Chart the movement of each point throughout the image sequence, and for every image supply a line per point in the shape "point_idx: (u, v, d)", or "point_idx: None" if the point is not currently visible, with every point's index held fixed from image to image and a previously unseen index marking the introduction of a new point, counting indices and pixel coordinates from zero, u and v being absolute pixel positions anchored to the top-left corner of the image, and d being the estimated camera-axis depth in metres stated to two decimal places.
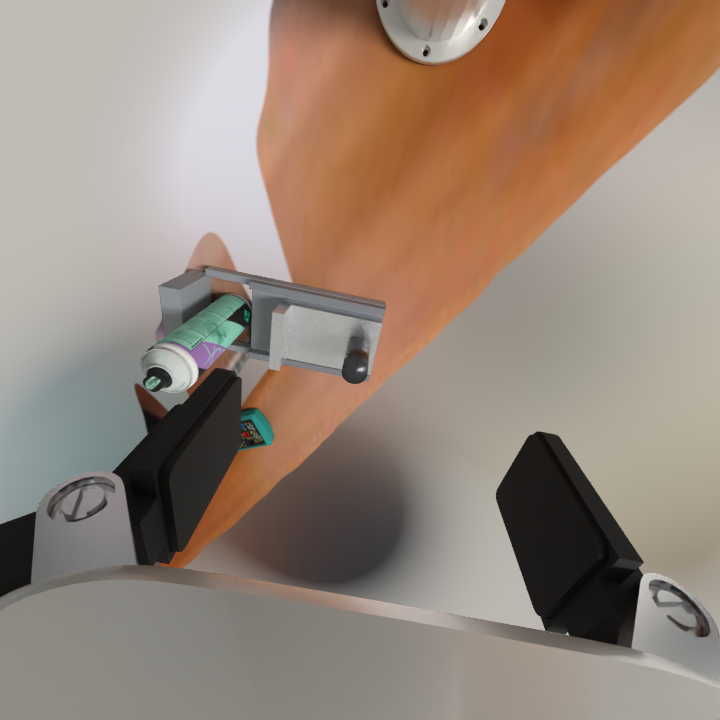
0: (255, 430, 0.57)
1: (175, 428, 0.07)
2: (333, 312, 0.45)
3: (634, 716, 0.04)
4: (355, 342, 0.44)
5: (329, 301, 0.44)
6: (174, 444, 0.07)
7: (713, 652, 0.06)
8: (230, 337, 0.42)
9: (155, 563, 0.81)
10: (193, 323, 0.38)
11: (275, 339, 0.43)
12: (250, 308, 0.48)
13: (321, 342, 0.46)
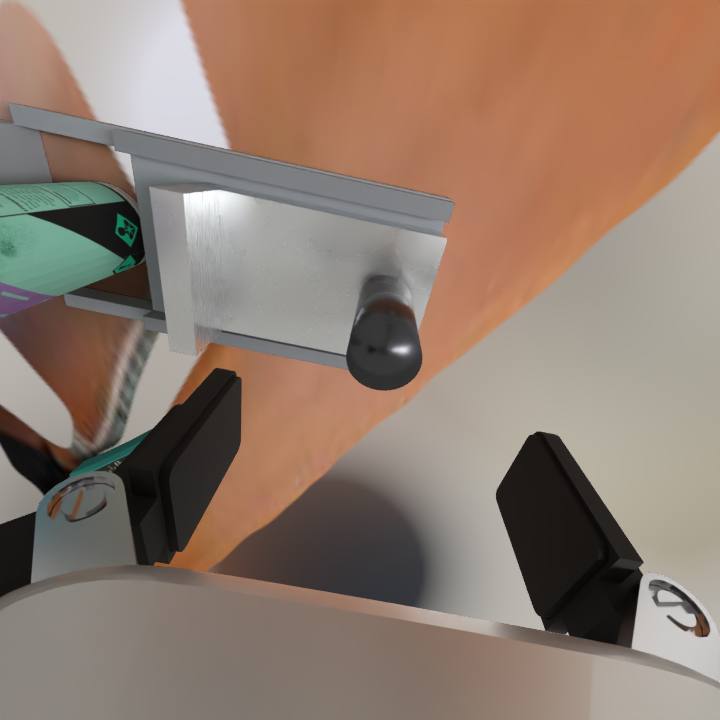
0: None
1: (175, 428, 0.07)
2: (326, 211, 0.18)
3: (634, 716, 0.04)
4: (379, 284, 0.18)
5: (315, 182, 0.18)
6: (174, 444, 0.07)
7: (713, 653, 0.06)
8: (42, 264, 0.15)
9: None
10: None
11: (172, 273, 0.16)
12: None
13: (297, 290, 0.20)
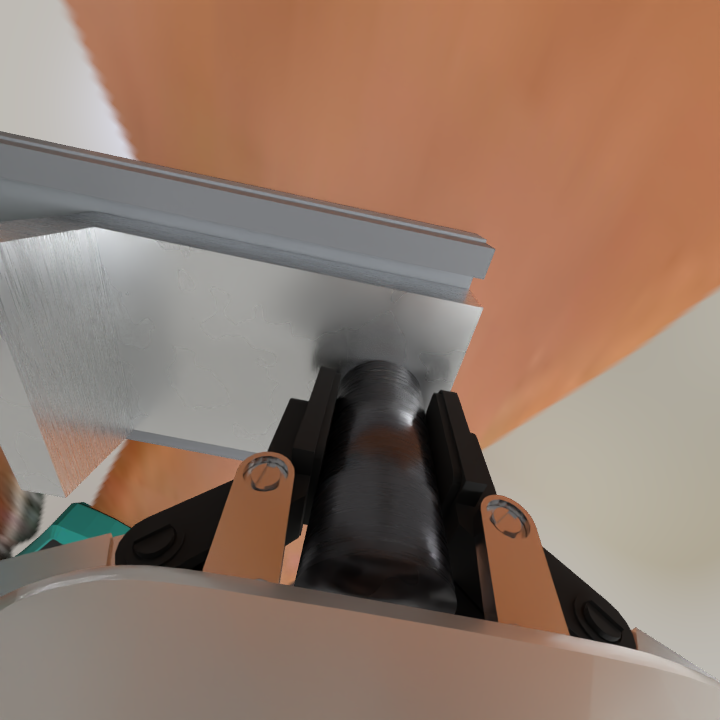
0: None
1: (314, 417, 0.08)
2: (280, 261, 0.11)
3: (634, 716, 0.04)
4: (369, 387, 0.10)
5: (261, 215, 0.11)
6: (320, 430, 0.08)
7: (535, 543, 0.07)
8: None
9: None
10: None
11: None
12: None
13: (241, 379, 0.13)
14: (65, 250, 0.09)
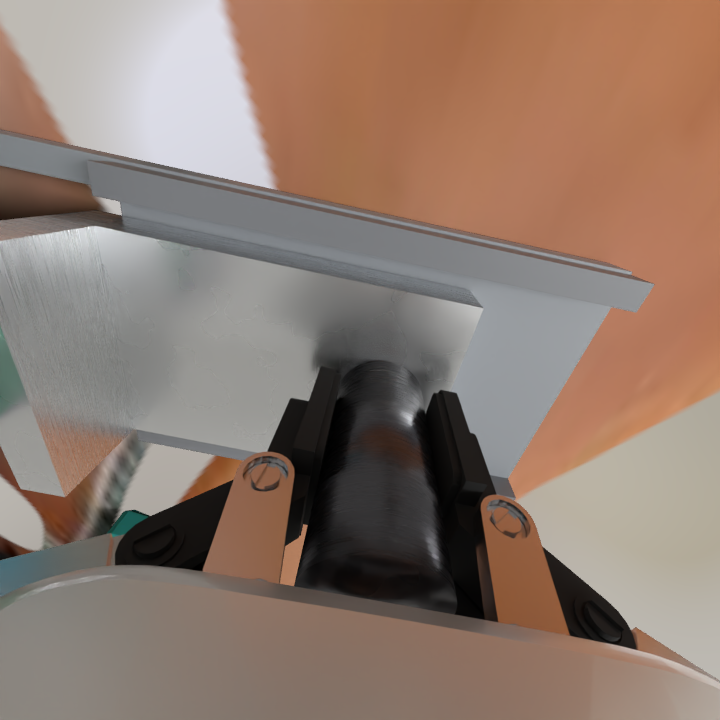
0: None
1: (314, 417, 0.08)
2: (281, 261, 0.11)
3: (633, 715, 0.04)
4: (369, 387, 0.10)
5: (424, 249, 0.11)
6: (320, 430, 0.08)
7: (535, 542, 0.07)
8: None
9: None
10: None
11: None
12: None
13: (241, 378, 0.13)
14: (65, 249, 0.09)
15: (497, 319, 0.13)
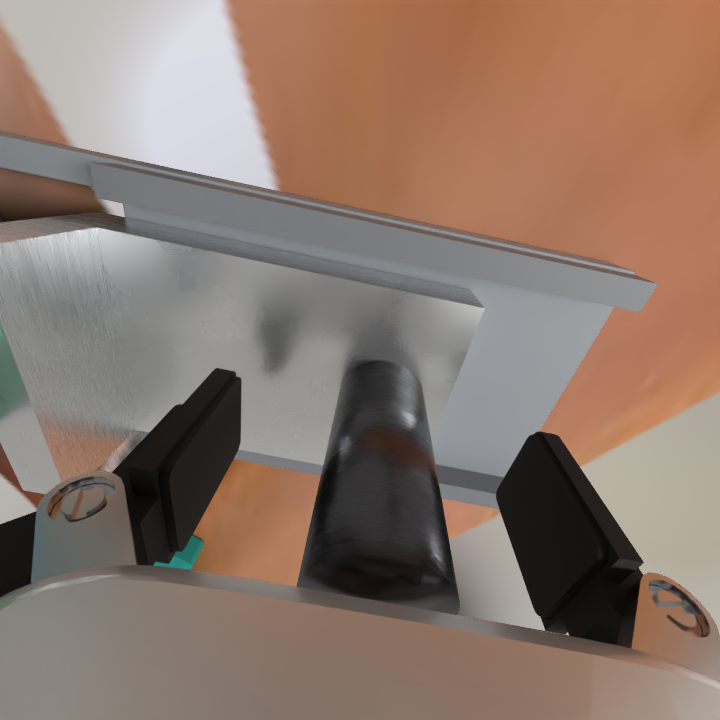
0: None
1: (175, 428, 0.07)
2: (282, 261, 0.11)
3: (634, 716, 0.04)
4: (371, 388, 0.10)
5: (427, 250, 0.11)
6: (174, 444, 0.07)
7: (713, 653, 0.06)
8: None
9: None
10: None
11: None
12: None
13: (243, 379, 0.13)
14: (67, 250, 0.09)
15: (500, 319, 0.13)
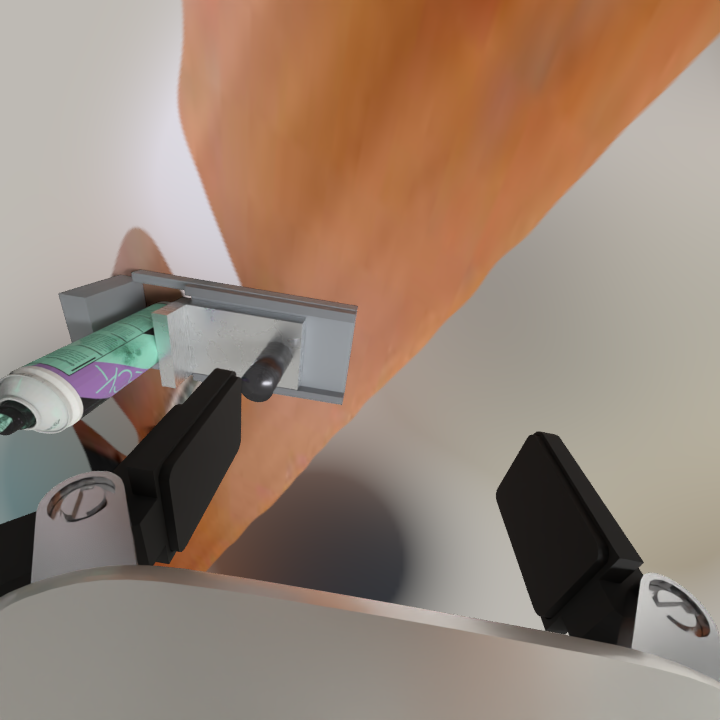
0: None
1: (175, 428, 0.07)
2: (241, 311, 0.35)
3: (633, 716, 0.04)
4: (267, 348, 0.35)
5: (285, 307, 0.35)
6: (174, 444, 0.07)
7: (713, 653, 0.06)
8: (149, 355, 0.33)
9: None
10: (89, 338, 0.29)
11: (162, 348, 0.33)
12: None
13: (231, 350, 0.37)
14: (180, 312, 0.34)
15: (319, 327, 0.37)
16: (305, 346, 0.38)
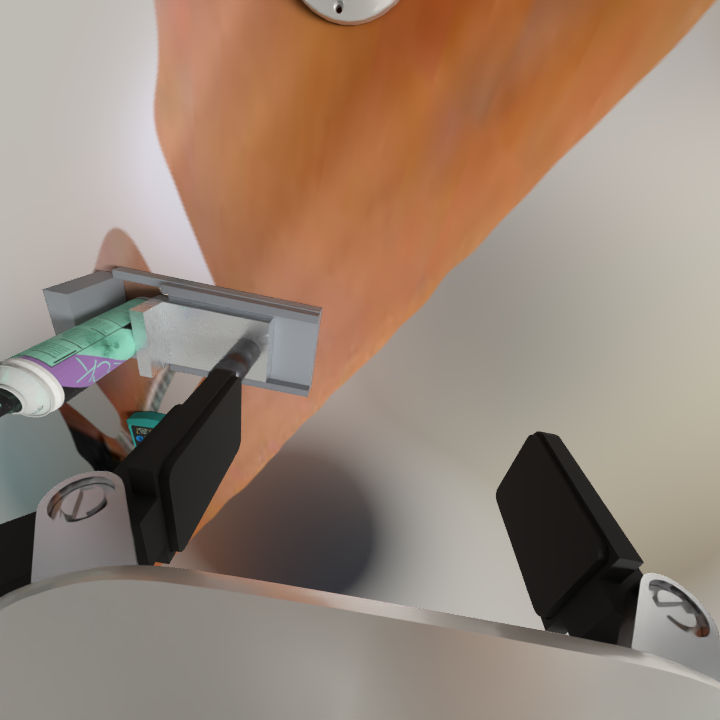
0: (147, 428, 0.50)
1: (175, 428, 0.07)
2: (213, 310, 0.39)
3: (633, 716, 0.04)
4: (236, 345, 0.38)
5: (254, 307, 0.38)
6: (174, 444, 0.07)
7: (713, 652, 0.06)
8: (127, 348, 0.36)
9: None
10: (71, 332, 0.32)
11: (139, 342, 0.37)
12: None
13: (204, 345, 0.40)
14: (156, 309, 0.37)
15: (286, 326, 0.41)
16: (274, 343, 0.42)
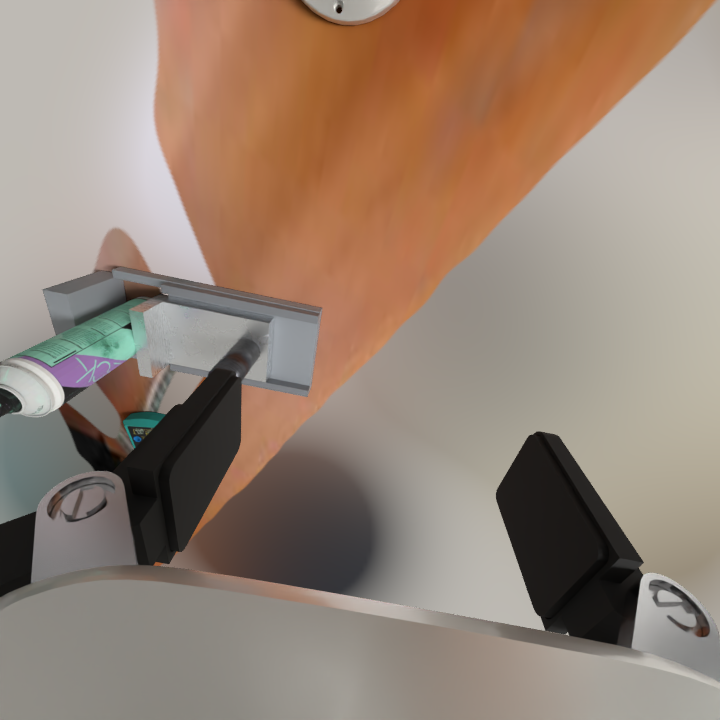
0: (143, 428, 0.50)
1: (175, 428, 0.07)
2: (213, 310, 0.39)
3: (634, 716, 0.04)
4: (236, 345, 0.38)
5: (254, 307, 0.38)
6: (174, 444, 0.07)
7: (713, 652, 0.06)
8: (127, 348, 0.36)
9: None
10: (71, 332, 0.32)
11: (139, 342, 0.37)
12: None
13: (204, 344, 0.40)
14: (156, 309, 0.37)
15: (286, 326, 0.41)
16: (274, 343, 0.42)
